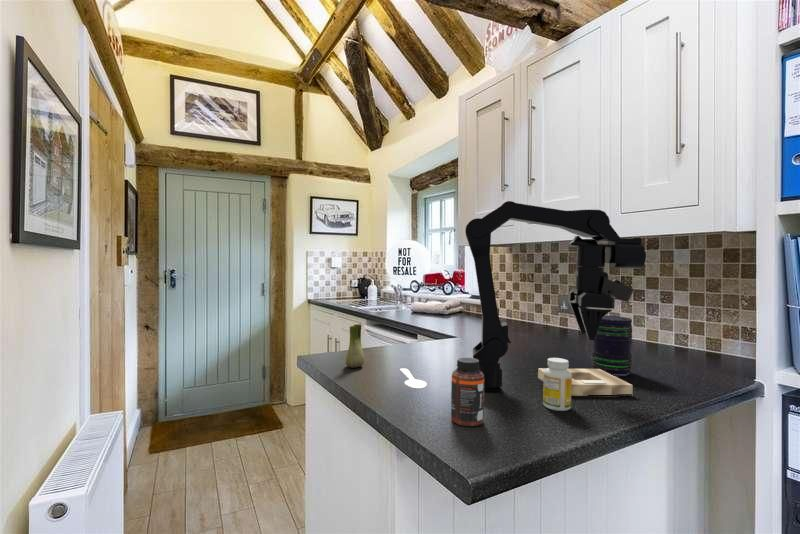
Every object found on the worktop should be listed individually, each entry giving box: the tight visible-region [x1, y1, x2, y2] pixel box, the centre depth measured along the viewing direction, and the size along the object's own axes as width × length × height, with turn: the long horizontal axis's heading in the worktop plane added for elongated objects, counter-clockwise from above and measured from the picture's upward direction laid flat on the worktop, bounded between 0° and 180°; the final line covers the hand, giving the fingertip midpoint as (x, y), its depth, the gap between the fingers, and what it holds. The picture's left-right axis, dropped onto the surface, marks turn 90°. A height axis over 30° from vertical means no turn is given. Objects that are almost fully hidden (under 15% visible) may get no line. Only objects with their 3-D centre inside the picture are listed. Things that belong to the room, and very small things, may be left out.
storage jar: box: [590, 315, 633, 374], centre depth 109 cm, size 10×10×15 cm
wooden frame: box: [537, 367, 634, 397], centre depth 95 cm, size 16×14×3 cm
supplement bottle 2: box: [542, 357, 572, 412], centre depth 80 cm, size 5×5×10 cm
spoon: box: [399, 367, 428, 390], centre depth 100 cm, size 5×18×1 cm, turn 12°
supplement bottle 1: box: [450, 357, 485, 427], centre depth 72 cm, size 6×6×11 cm
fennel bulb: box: [345, 323, 365, 369], centre depth 109 cm, size 6×5×12 cm
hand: (587, 336), depth 88 cm, fingers open, 9 cm apart
